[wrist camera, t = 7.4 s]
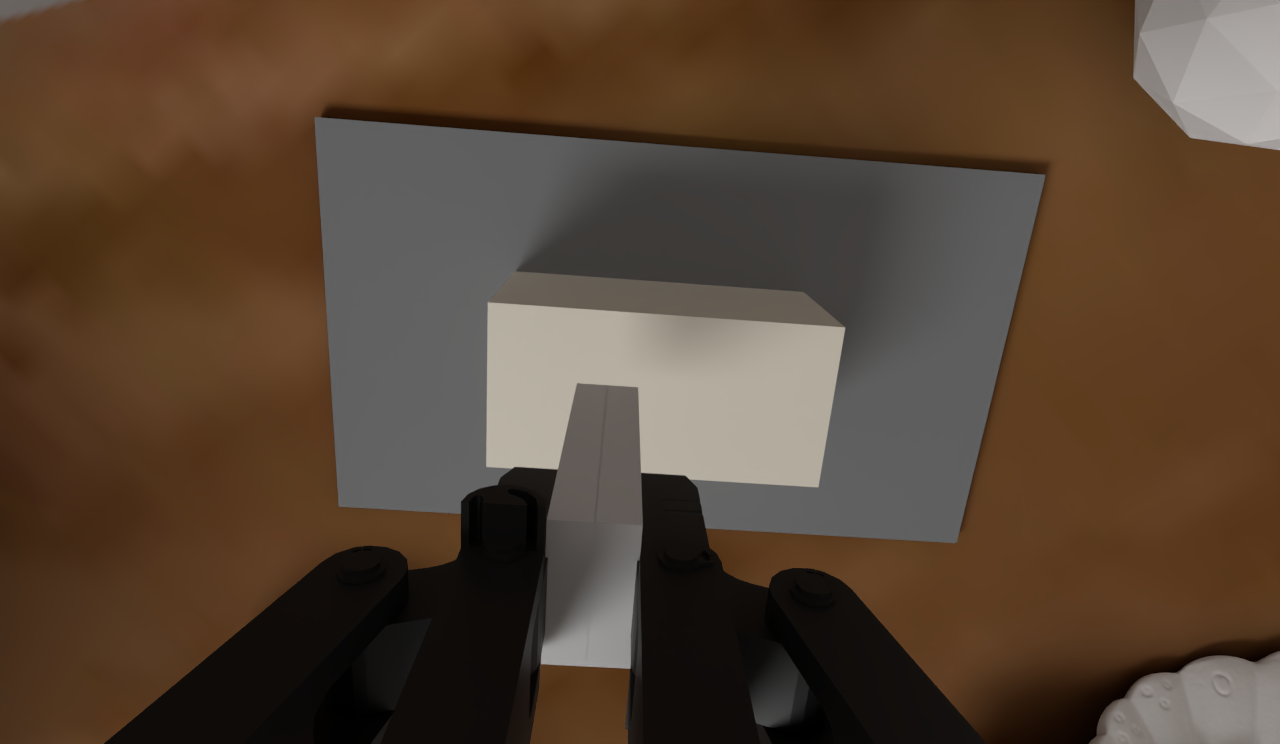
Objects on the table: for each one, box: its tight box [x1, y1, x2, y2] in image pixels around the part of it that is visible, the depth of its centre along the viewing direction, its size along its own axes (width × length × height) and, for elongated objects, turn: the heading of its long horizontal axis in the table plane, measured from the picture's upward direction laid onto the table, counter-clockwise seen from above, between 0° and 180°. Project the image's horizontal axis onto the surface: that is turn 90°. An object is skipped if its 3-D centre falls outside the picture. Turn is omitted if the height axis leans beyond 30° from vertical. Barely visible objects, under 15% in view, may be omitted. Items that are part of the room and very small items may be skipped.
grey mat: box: [314, 117, 1046, 543], centre depth 25 cm, size 24×14×1 cm, turn 86°
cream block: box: [486, 271, 845, 487], centre depth 23 cm, size 5×5×10 cm
